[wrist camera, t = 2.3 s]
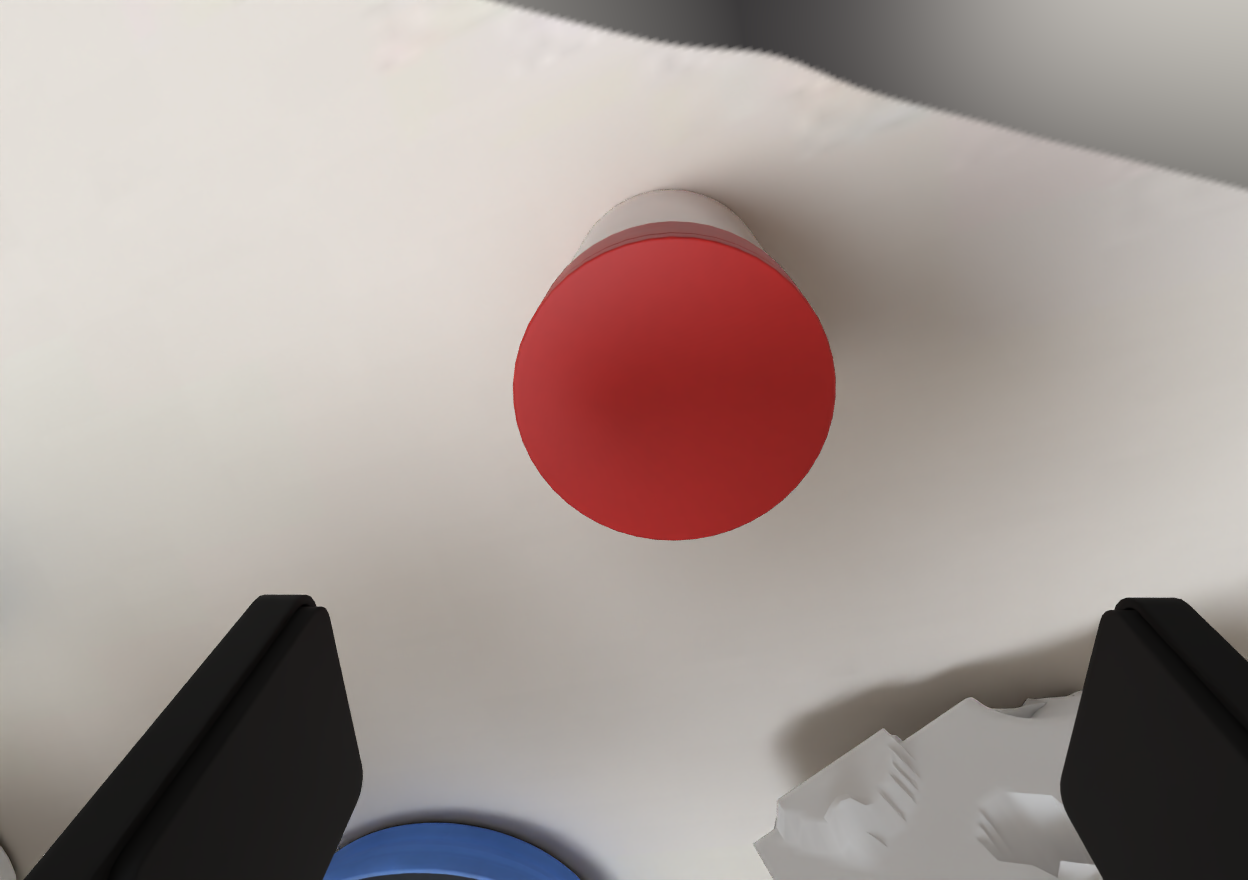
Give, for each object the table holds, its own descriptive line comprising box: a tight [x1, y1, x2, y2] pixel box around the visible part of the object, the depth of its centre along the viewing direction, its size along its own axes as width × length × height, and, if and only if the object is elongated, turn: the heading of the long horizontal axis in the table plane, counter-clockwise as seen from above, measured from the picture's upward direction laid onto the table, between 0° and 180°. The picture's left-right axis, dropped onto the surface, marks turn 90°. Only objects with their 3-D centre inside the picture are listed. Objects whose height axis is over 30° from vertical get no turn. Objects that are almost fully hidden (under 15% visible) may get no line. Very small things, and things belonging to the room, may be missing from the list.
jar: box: [572, 189, 766, 261], centre depth 24 cm, size 7×7×11 cm
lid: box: [513, 221, 836, 540], centre depth 19 cm, size 8×8×2 cm
